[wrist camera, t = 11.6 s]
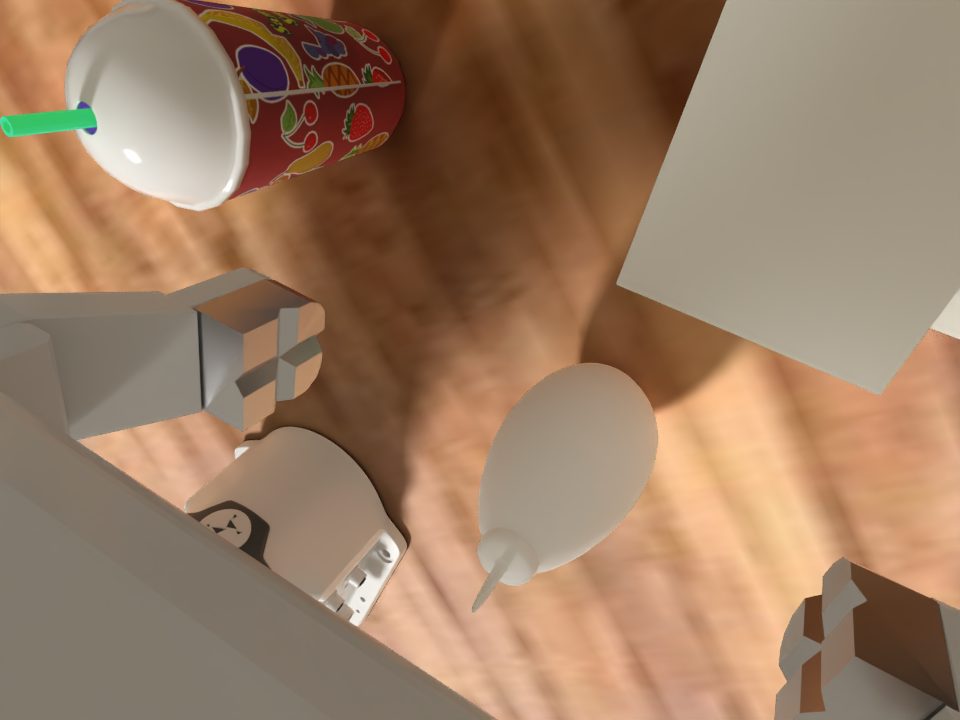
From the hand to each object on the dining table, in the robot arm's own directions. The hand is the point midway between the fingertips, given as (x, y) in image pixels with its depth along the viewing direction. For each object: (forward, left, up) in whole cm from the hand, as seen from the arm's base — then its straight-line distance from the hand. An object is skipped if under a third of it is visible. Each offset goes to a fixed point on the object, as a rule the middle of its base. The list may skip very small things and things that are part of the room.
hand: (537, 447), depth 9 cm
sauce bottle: (-15, +1, -25) cm, 29 cm away
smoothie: (-3, +21, -25) cm, 33 cm away
